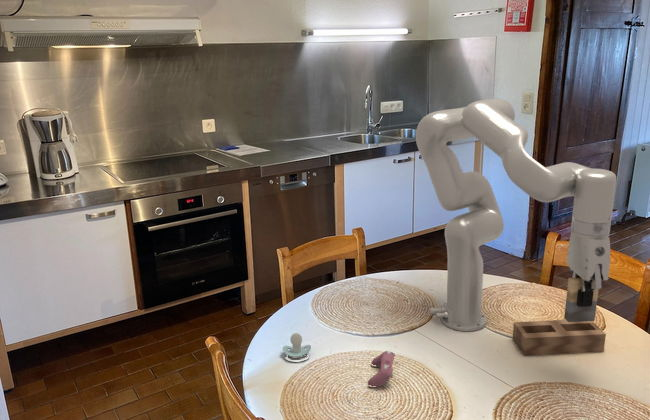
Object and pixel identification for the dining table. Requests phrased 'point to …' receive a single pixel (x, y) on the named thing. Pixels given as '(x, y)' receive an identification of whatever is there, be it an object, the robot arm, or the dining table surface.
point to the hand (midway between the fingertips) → (581, 302)
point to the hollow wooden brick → (558, 337)
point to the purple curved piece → (382, 368)
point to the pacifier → (296, 347)
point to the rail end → (571, 308)
